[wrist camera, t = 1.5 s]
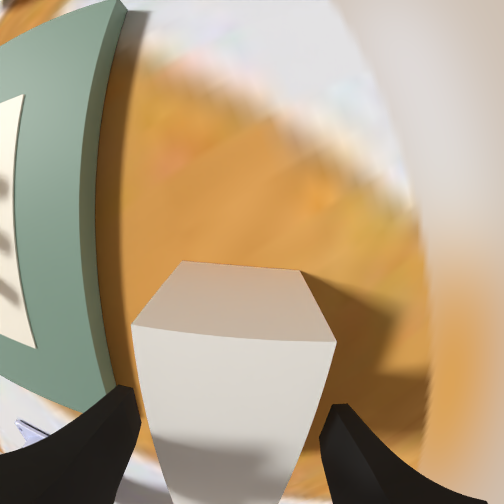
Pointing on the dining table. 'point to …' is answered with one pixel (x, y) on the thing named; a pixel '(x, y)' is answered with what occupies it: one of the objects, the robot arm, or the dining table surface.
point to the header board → (54, 205)
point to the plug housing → (231, 379)
